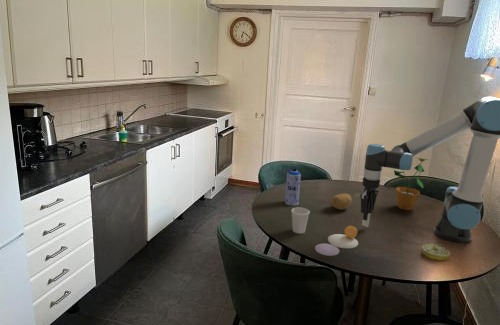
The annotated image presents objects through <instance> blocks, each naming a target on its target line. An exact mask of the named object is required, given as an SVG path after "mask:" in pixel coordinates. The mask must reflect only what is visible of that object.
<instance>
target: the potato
mask: <svg viewBox="0 0 500 325" xmlns="http://www.w3.org/2000/svg"><path fill="white" fill-rule="evenodd" d="M352 200H353V198H352V196H351V195H350V194H349V193H339V194H337V195H334V196H333V197H332V198H331V200H330V204H331V206H332V207H333V208H335V209H337V210H346V209H348V208H349V207H350V206H351V204H352Z"/></svg>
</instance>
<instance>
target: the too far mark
mask: <svg viewBox="0 0 500 325" xmlns="http://www.w3.org/2000/svg"><path fill="white" fill-rule="evenodd" d="M314 250H315V252H317V253H318V254H321V255H323V256H329V257H333V256H337V255H339V253H340V248H339V247H337V246H334V245H332V244H331V243H319V244H317V245H315V246H314Z"/></svg>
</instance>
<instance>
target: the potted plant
mask: <svg viewBox="0 0 500 325" xmlns="http://www.w3.org/2000/svg"><path fill="white" fill-rule="evenodd" d="M413 158H414V159H416V156H413ZM417 159H418V161H420V163H419V164H417V165H416V166H414V169H415V170H416V172H415V173H414V174H413V176H412V177H411V179H410V180H409V179H408V178H407V176H406V174H405V170H401V171H399V170H396V169H395V170H394V169H393V172H394V176H396V177H399V178H402V179H406V180H407V182H408V186H397V187H395V193H396V202H397V207H398V208H399V209H401V210H403V209H404V210H405V211H412V209H413V208H414V206H415V204H416V201H417V199H418V197H419V195H420V193H421V191H420V190H418V189H416V188H414V187H413V188H412V187H410V185H411V183H412V180H413V179H415V181H414V183H415V184H416V185H418V186H419V187H421V188H422V189H424V188H425V185H426V182H424V181H423V180H421V179H419V176H420V175H421V173H424V172H425V170H424V168H423V165H422V164H423V162H424V161H428V159H425V158H420V157H417ZM418 172H419V173H418ZM401 173H402V174H401ZM417 173H418V175H417V177H416V176H415V175H416V174H417ZM403 174H404V175H403Z"/></svg>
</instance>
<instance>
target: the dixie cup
mask: <svg viewBox="0 0 500 325" xmlns="http://www.w3.org/2000/svg"><path fill="white" fill-rule="evenodd" d="M290 210H291V223H292V224H291V225H292V231H293V233H295V234H297V235H298V234H299V235H300V234H305V232H306V228H307V224H308V219H309V215H310V213H311V211H310V210H309V209H308V208H305V207H301V206H300V207H299V206H298V207H297V206H296V207H293V208H292V209H290Z"/></svg>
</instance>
